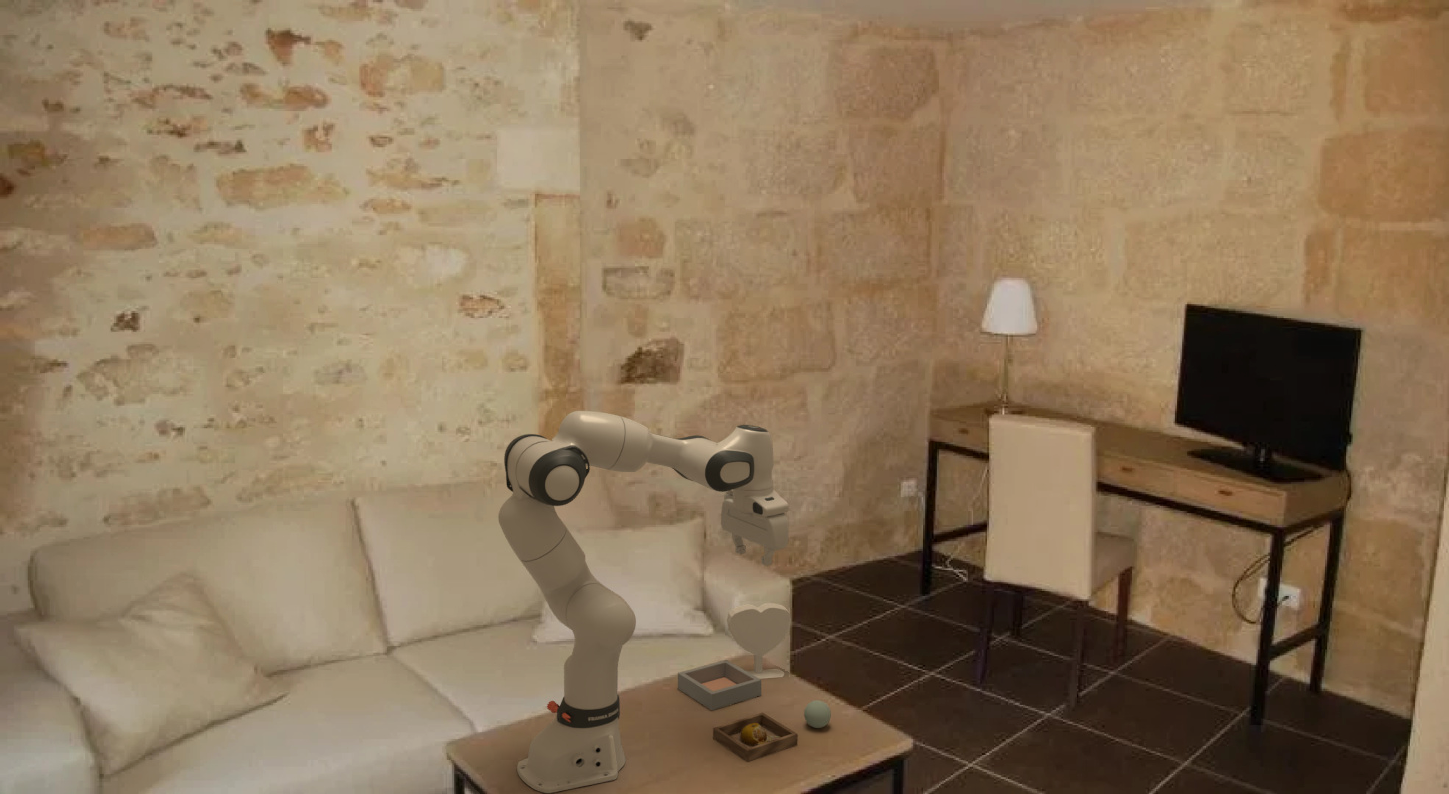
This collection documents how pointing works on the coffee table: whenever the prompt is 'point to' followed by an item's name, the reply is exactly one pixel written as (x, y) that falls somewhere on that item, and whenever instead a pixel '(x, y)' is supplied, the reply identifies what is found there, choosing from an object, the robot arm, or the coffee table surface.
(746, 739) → the fruit
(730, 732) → the fruit tray
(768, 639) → the heart sculpture
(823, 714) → the ball
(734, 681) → the grey square tray
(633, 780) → the coffee table surface
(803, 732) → the coffee table surface
